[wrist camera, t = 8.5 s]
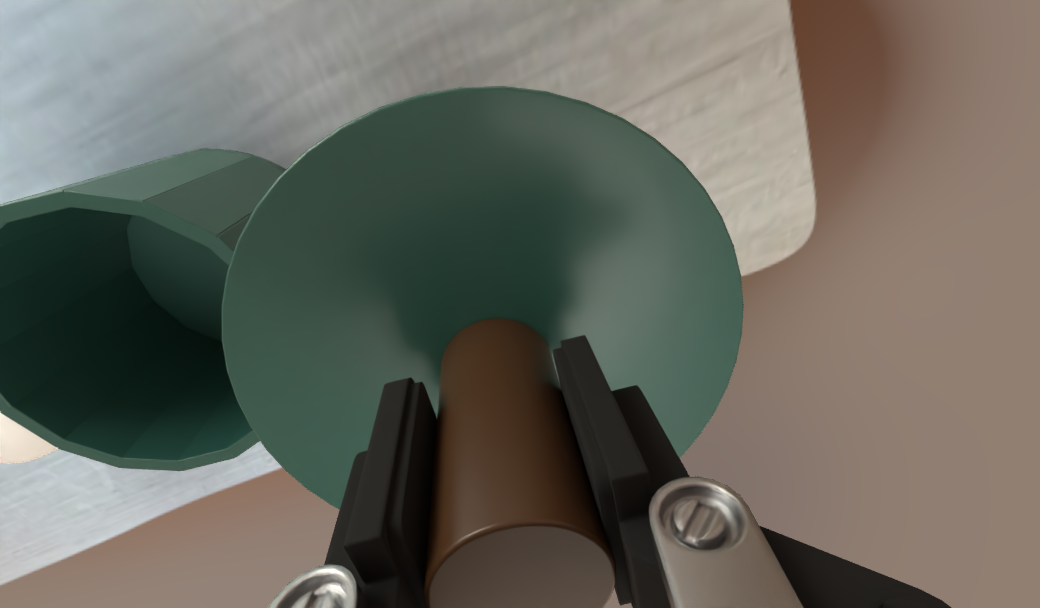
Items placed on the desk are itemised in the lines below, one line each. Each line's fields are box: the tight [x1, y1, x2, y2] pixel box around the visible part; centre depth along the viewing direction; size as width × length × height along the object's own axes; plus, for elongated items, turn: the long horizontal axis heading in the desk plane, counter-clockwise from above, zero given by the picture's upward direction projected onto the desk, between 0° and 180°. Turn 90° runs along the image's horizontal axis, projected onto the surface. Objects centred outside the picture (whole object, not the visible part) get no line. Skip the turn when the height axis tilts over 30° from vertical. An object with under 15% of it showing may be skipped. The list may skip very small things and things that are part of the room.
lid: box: [222, 86, 743, 608], centre depth 10 cm, size 13×13×7 cm
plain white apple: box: [0, 411, 58, 463], centre depth 26 cm, size 7×7×8 cm
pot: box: [0, 149, 286, 471], centre depth 24 cm, size 12×12×10 cm
